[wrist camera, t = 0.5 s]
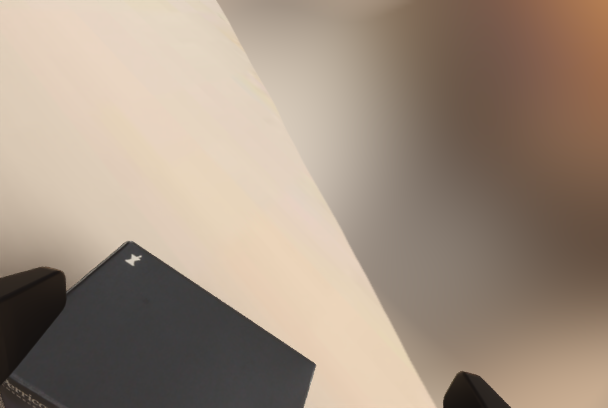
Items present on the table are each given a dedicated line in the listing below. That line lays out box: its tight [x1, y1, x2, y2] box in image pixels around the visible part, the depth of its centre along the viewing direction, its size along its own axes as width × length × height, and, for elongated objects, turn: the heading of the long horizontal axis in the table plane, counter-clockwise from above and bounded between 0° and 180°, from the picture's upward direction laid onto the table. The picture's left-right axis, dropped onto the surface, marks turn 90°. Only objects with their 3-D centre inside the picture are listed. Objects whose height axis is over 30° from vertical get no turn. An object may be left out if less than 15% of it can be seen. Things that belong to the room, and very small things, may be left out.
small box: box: [0, 241, 316, 408], centre depth 15 cm, size 11×6×10 cm, turn 69°
